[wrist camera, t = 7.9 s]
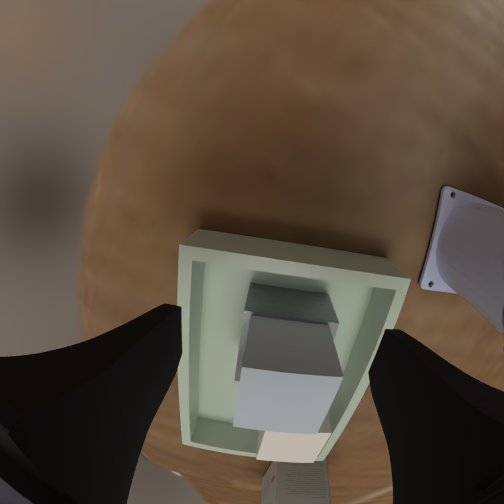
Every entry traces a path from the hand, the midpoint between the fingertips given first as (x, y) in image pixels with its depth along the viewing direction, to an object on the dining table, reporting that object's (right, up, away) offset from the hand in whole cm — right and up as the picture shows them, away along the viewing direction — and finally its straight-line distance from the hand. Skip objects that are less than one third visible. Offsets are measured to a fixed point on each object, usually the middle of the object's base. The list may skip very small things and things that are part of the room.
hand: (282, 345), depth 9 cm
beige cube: (+2, -11, +13) cm, 17 cm away
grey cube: (+1, -3, +7) cm, 7 cm away
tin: (+1, -2, +11) cm, 11 cm away
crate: (+1, -6, +12) cm, 14 cm away
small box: (+4, -24, +18) cm, 31 cm away
